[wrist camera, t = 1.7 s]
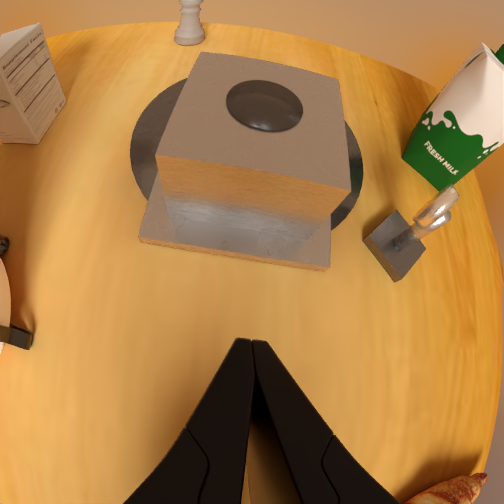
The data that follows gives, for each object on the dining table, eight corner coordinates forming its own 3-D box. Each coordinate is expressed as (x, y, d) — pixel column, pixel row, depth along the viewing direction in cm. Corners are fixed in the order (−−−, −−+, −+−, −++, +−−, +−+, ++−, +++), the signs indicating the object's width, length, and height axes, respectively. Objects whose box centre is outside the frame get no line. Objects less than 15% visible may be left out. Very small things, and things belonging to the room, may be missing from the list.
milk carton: (453, 164, 32) (538, 81, 14) (445, 204, 29) (557, 111, 10) (408, 124, 33) (484, 25, 14) (393, 158, 30) (493, 37, 11)
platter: (226, 311, 21) (226, 311, 21) (97, 120, 25) (96, 119, 25) (398, 175, 29) (399, 174, 29) (266, 54, 33) (266, 53, 33)
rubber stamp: (394, 282, 24) (468, 247, 15) (362, 240, 25) (427, 189, 16) (418, 252, 26) (485, 213, 17) (390, 214, 27) (449, 163, 18)
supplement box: (1, 145, 23) (-42, 76, 11) (31, 102, 25) (1, 32, 13) (38, 147, 23) (-8, 64, 11) (69, 100, 26) (42, 19, 14)
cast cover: (324, 271, 23) (384, 228, 15) (141, 242, 22) (109, 180, 13) (323, 135, 28) (357, 73, 20) (184, 110, 27) (183, 37, 18)
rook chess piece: (202, 47, 32) (206, 0, 24) (171, 47, 31) (170, 0, 24) (206, 34, 33) (210, -9, 26) (177, 34, 32) (177, -10, 25)
